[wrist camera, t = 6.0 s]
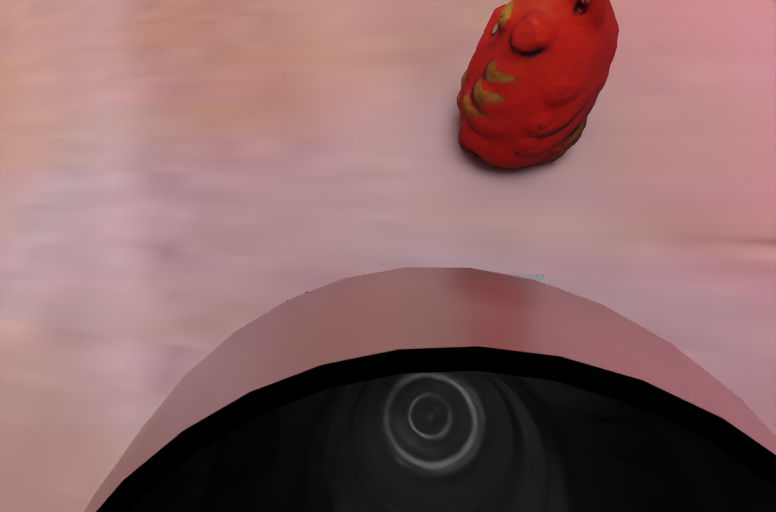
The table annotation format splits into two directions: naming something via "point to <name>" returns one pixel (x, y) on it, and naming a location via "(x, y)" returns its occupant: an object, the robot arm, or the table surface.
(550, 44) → the red clay folk toy
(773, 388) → the table surface
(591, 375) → the plastic bottle
